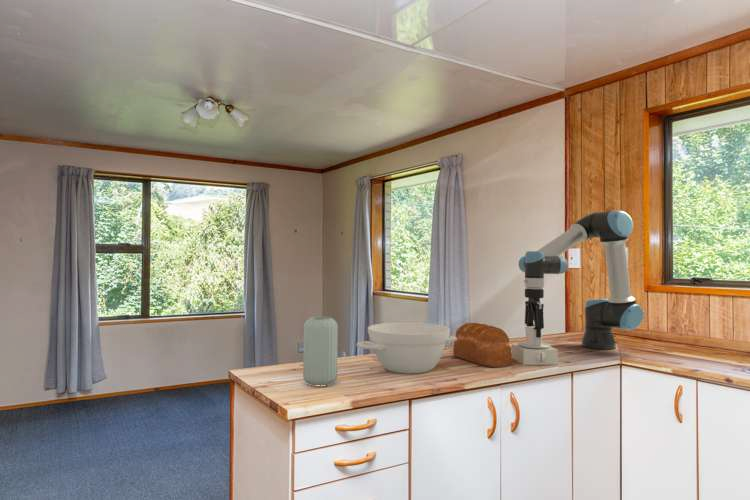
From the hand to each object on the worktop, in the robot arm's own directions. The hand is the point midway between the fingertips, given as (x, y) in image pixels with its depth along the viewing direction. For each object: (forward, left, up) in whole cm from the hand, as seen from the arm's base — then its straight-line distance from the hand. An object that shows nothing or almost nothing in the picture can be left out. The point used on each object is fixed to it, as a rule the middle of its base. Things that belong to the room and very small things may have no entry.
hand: (533, 343), depth 205 cm
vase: (+32, -87, -8) cm, 93 cm away
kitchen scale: (0, 0, -7) cm, 7 cm away
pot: (+11, -54, -8) cm, 56 cm away
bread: (-2, -21, -8) cm, 23 cm away
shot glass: (0, 0, 0) cm, 0 cm away
